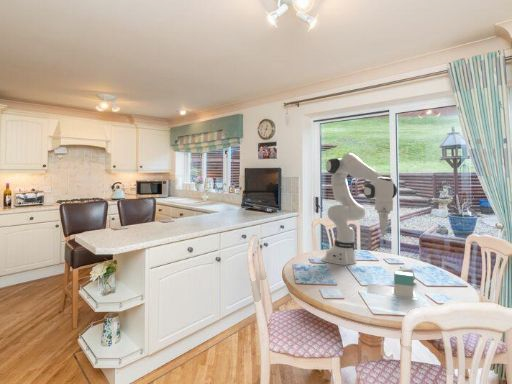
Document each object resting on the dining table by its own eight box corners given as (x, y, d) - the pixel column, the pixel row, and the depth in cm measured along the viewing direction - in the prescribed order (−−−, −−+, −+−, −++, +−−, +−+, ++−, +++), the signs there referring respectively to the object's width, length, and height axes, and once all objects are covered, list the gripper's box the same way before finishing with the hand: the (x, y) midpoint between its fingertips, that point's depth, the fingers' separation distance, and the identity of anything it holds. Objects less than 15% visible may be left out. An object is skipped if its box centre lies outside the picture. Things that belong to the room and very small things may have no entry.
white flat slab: (367, 294, 136) (367, 292, 136) (367, 284, 148) (367, 282, 148) (417, 302, 128) (417, 300, 127) (414, 291, 139) (414, 289, 139)
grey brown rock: (402, 288, 145) (416, 274, 143) (389, 275, 152) (402, 262, 149) (408, 289, 151) (421, 276, 148) (395, 276, 157) (408, 264, 155)
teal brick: (394, 283, 135) (395, 273, 134) (394, 280, 139) (394, 270, 139) (413, 286, 131) (413, 276, 131) (412, 282, 136) (412, 272, 136)
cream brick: (394, 293, 135) (394, 283, 135) (393, 289, 140) (394, 280, 139) (413, 296, 132) (413, 286, 131) (411, 292, 136) (412, 282, 136)
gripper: (391, 210, 137) (390, 236, 139) (389, 204, 156) (388, 228, 157) (377, 209, 140) (376, 235, 141) (377, 204, 158) (376, 227, 160)
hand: (382, 231), depth 149 cm, fingers open, 8 cm apart
